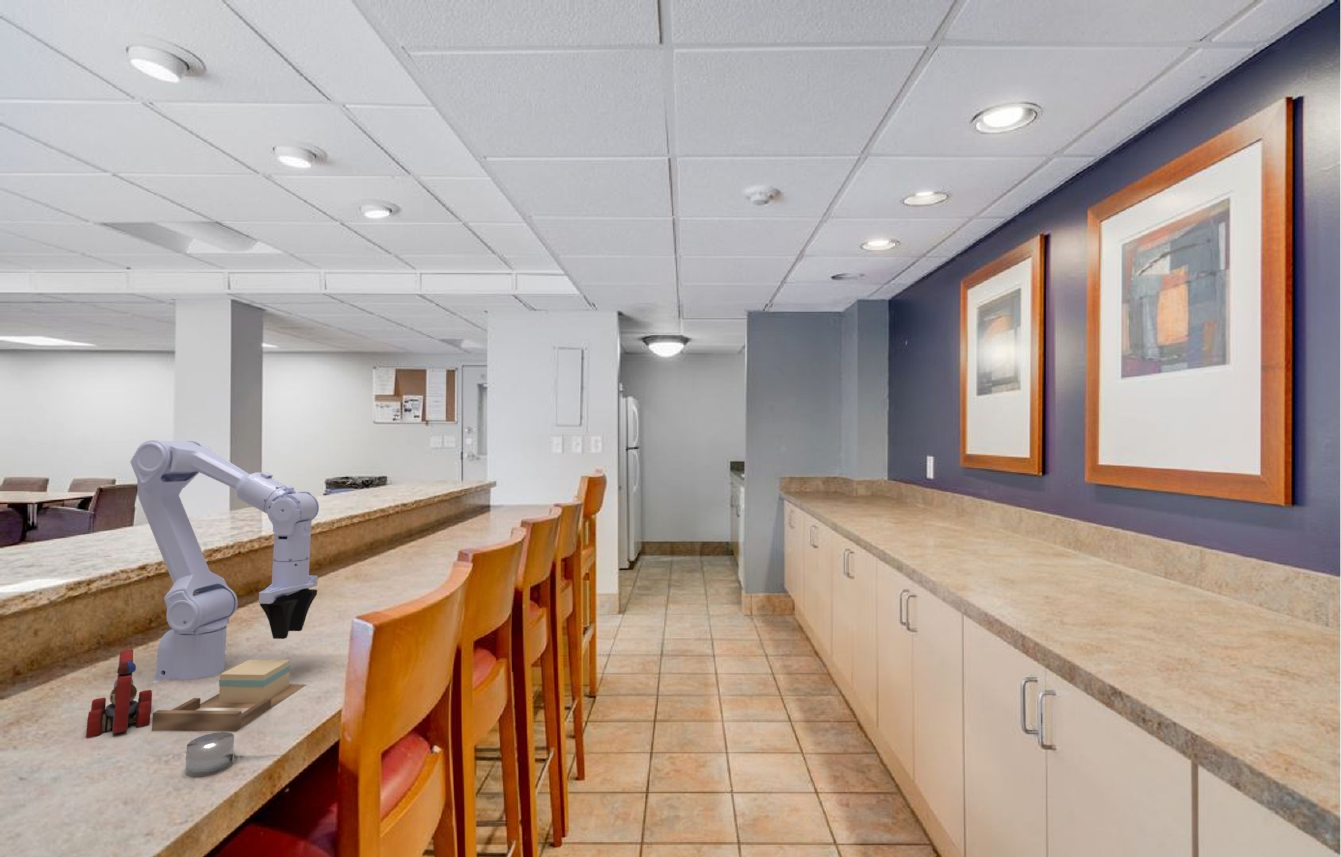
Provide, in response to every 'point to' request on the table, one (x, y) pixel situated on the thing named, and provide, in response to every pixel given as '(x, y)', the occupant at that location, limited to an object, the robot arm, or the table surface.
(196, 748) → the grey tin
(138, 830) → the table surface
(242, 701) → the carton
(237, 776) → the table surface
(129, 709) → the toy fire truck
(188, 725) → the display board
